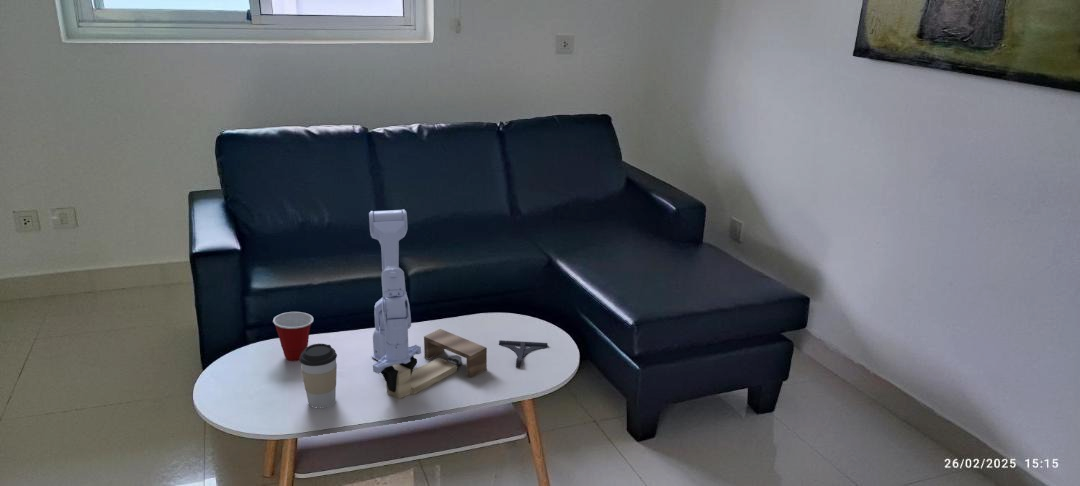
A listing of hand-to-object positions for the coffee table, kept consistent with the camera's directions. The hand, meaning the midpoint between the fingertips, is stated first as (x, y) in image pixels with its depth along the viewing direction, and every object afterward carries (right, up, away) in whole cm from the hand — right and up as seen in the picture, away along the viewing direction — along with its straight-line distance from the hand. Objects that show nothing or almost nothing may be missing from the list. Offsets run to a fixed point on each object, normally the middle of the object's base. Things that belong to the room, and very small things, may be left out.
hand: (398, 387), depth 193 cm
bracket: (+31, +4, +22) cm, 38 cm away
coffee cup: (-19, -3, -4) cm, 20 cm away
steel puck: (+13, +3, +16) cm, 21 cm away
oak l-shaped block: (+5, 0, +7) cm, 8 cm away
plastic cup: (-32, +5, +18) cm, 37 cm away
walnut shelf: (+13, +4, +16) cm, 21 cm away
